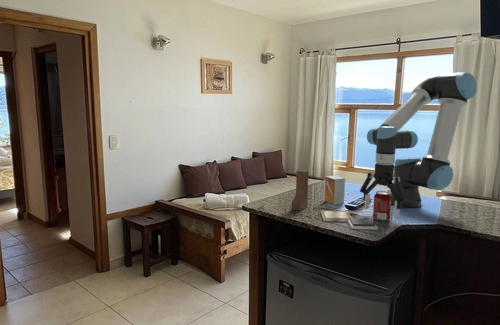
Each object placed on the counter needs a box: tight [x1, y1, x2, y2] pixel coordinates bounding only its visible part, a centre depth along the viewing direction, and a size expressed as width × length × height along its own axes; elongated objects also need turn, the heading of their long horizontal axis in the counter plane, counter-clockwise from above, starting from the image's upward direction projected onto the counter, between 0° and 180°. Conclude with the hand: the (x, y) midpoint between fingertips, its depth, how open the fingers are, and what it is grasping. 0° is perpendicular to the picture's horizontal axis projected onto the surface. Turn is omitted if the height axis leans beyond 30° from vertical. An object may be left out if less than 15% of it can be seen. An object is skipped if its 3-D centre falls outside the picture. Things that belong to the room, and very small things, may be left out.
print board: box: [320, 209, 353, 223], centre depth 156 cm, size 12×12×1 cm
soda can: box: [372, 190, 392, 222], centre depth 152 cm, size 7×7×12 cm
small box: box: [324, 175, 346, 206], centre depth 179 cm, size 8×6×13 cm
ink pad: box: [347, 218, 379, 231], centre depth 145 cm, size 10×8×2 cm
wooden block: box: [291, 169, 309, 212], centre depth 168 cm, size 9×4×18 cm, turn 149°
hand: (381, 212), depth 153 cm, fingers open, 13 cm apart
